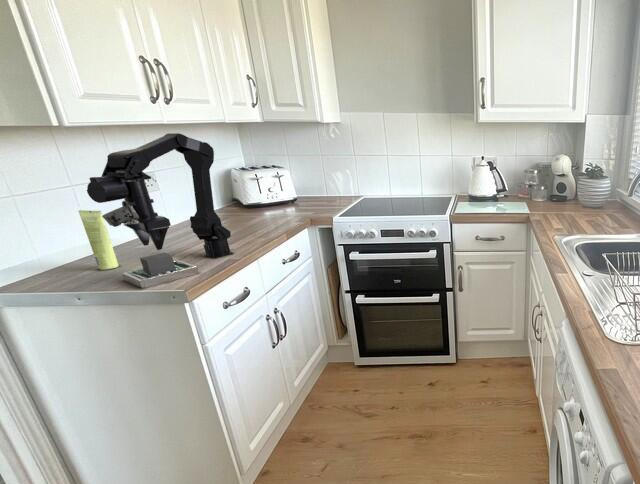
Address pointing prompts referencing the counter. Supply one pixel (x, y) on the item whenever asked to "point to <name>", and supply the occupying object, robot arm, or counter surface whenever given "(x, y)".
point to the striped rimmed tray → (159, 275)
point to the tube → (99, 239)
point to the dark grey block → (157, 263)
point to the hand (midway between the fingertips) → (152, 247)
